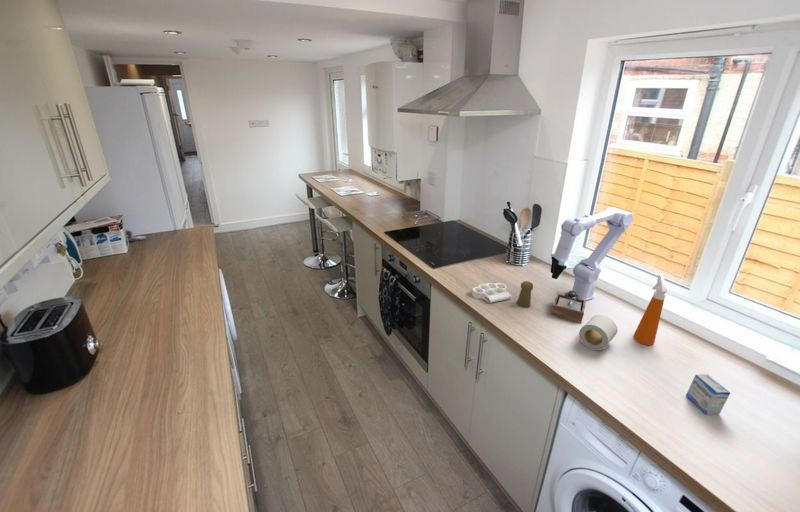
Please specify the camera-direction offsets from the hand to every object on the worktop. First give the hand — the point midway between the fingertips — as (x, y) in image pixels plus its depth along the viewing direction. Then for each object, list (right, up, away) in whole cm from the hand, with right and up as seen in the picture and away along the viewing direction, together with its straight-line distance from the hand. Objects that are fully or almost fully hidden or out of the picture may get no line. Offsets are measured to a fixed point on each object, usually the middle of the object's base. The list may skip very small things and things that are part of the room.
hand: (553, 275), depth 162 cm
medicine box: (+25, -37, -50) cm, 67 cm away
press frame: (+5, -16, -2) cm, 17 cm away
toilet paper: (+7, -25, -22) cm, 34 cm away
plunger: (+5, -13, -4) cm, 15 cm away
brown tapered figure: (-12, -13, +3) cm, 18 cm away
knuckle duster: (-25, -10, +11) cm, 29 cm away
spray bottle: (+28, -24, -18) cm, 40 cm away
